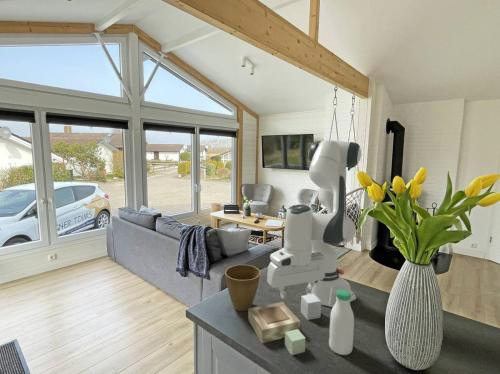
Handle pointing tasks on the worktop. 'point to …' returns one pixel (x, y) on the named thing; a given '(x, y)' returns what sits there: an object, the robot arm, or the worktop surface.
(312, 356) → the worktop surface
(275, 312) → the birch plinth
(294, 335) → the sage block
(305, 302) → the product box
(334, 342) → the milk bottle
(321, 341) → the worktop surface
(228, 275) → the plant pot
